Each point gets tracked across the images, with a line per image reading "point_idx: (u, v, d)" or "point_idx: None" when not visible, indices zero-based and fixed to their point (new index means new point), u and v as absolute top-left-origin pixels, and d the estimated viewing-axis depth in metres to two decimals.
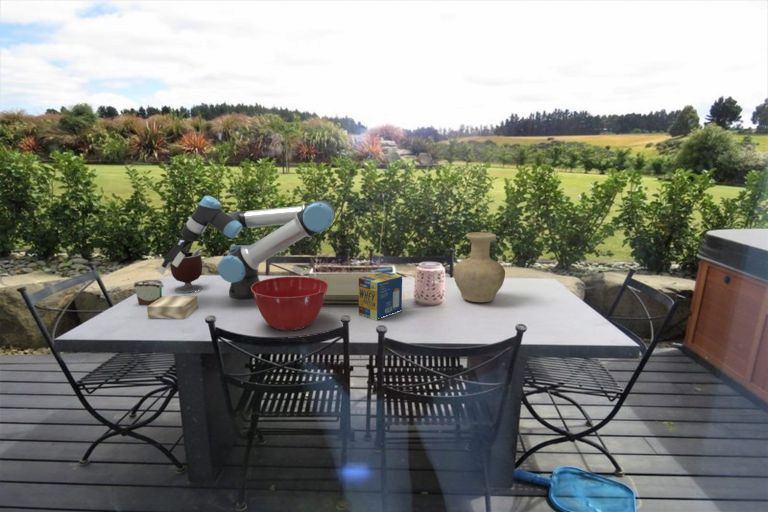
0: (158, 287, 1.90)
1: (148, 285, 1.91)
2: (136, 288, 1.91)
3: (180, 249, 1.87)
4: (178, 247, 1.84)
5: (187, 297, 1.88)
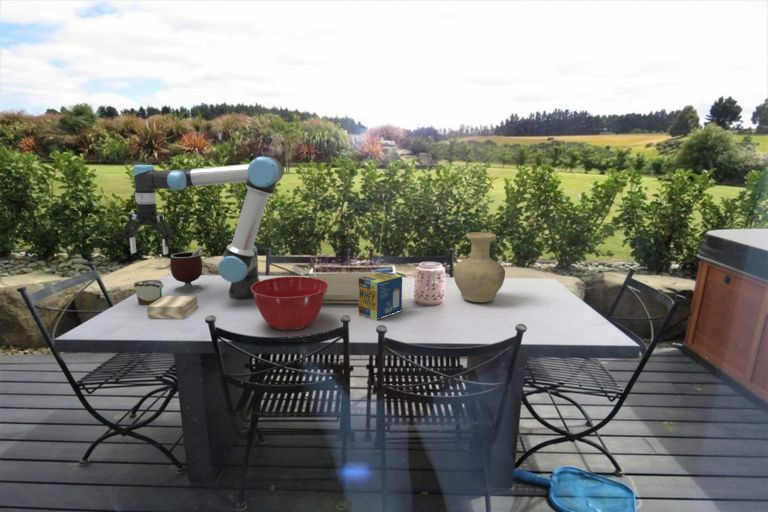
0: (158, 287, 1.90)
1: (148, 285, 1.91)
2: (136, 288, 1.91)
3: None
4: (165, 221, 1.89)
5: (187, 297, 1.88)
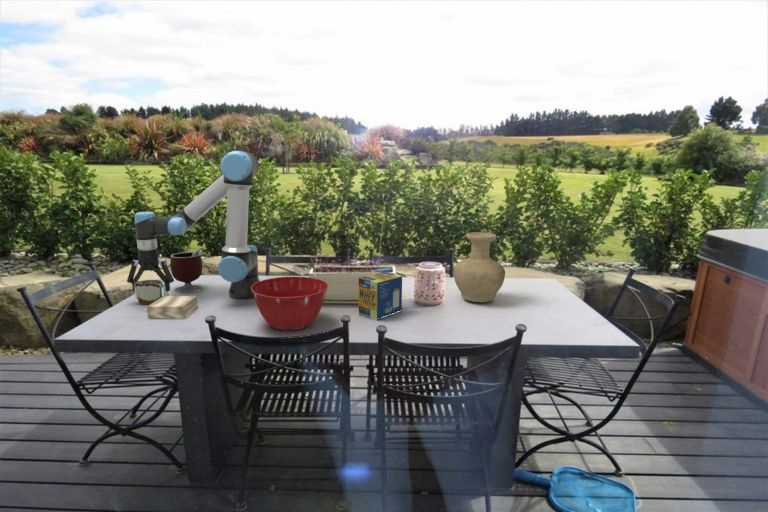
0: (158, 287, 1.90)
1: (148, 285, 1.91)
2: (136, 288, 1.91)
3: None
4: (166, 266, 1.93)
5: (187, 297, 1.88)
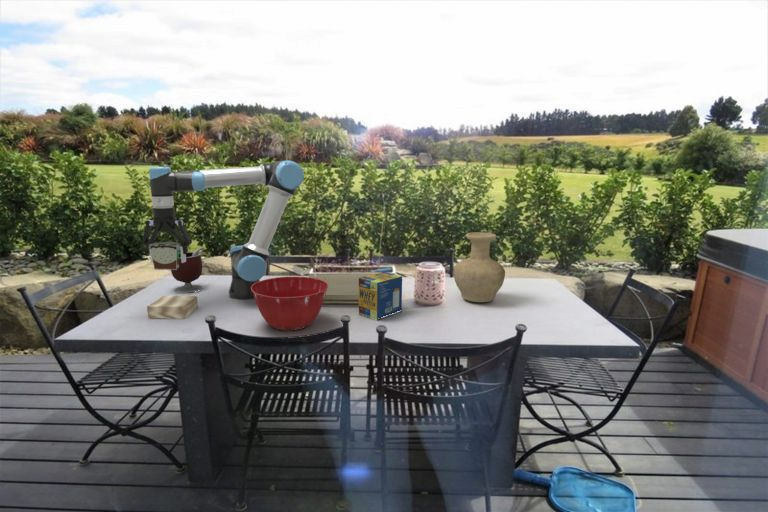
0: (175, 249, 1.75)
1: (164, 247, 1.76)
2: (151, 250, 1.76)
3: None
4: (184, 227, 1.78)
5: (187, 297, 1.88)
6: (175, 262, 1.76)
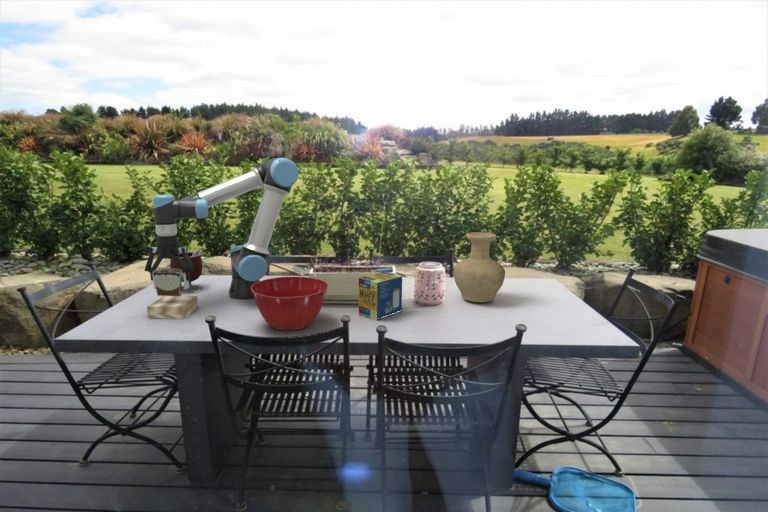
0: (178, 276, 1.77)
1: (167, 274, 1.77)
2: (154, 277, 1.78)
3: None
4: (187, 254, 1.80)
5: (187, 297, 1.88)
6: (178, 289, 1.78)
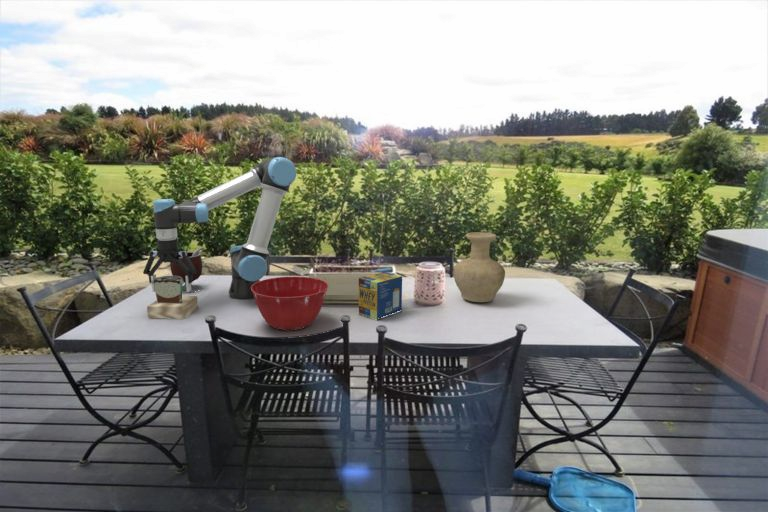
0: (179, 283, 1.78)
1: (168, 281, 1.78)
2: (155, 284, 1.79)
3: None
4: (188, 257, 1.80)
5: (187, 297, 1.88)
6: (178, 296, 1.79)
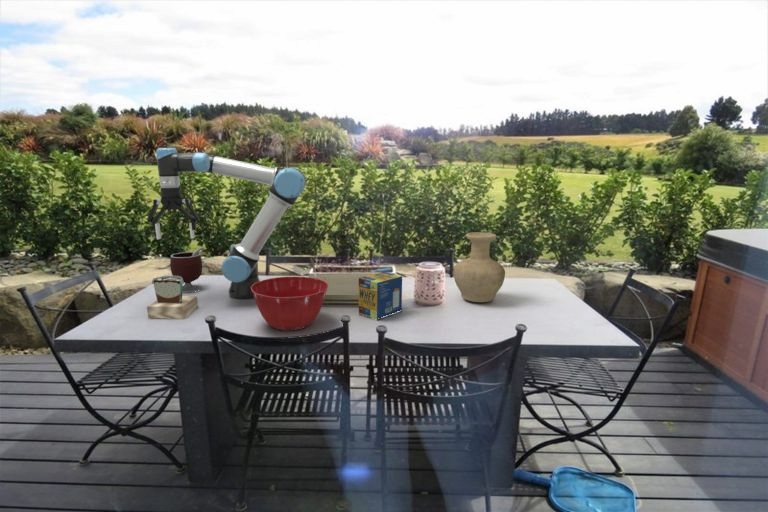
0: (179, 283, 1.78)
1: (168, 281, 1.78)
2: (155, 284, 1.79)
3: None
4: (191, 205, 1.86)
5: (187, 297, 1.88)
6: (178, 296, 1.79)
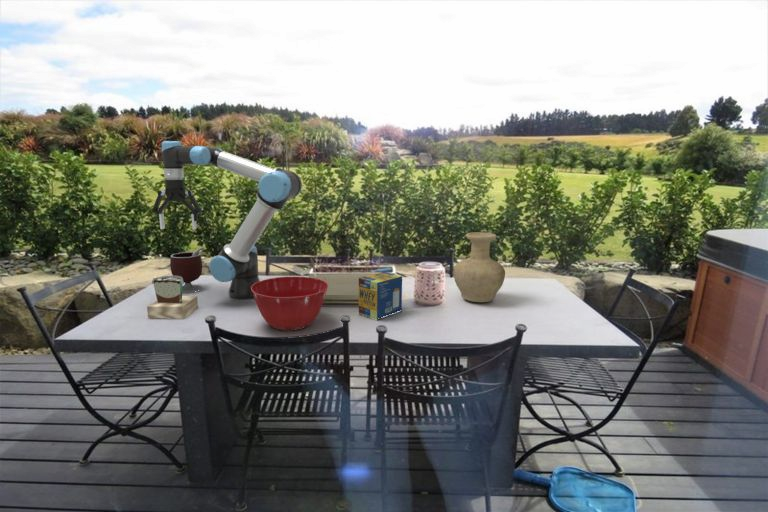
0: (179, 283, 1.78)
1: (168, 281, 1.78)
2: (155, 284, 1.79)
3: (187, 200, 1.93)
4: (193, 196, 1.93)
5: (187, 297, 1.88)
6: (178, 296, 1.79)
